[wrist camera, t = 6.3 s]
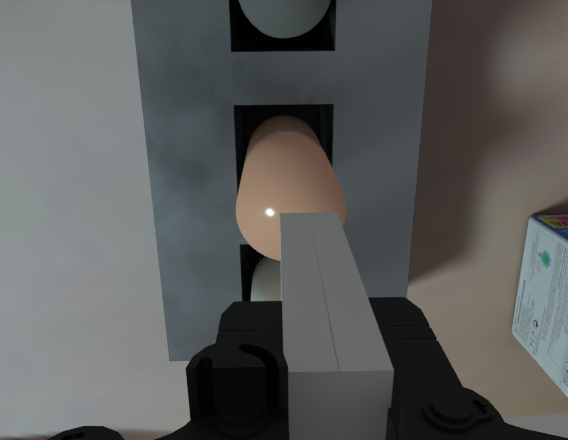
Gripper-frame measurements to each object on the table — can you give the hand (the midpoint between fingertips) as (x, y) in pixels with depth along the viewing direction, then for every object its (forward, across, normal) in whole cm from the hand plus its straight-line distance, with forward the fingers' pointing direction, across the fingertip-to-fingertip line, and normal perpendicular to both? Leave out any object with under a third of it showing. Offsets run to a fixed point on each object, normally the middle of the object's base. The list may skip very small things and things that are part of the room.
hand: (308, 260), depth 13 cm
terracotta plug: (+13, 0, 0) cm, 13 cm away
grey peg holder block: (+20, 0, 0) cm, 20 cm away
